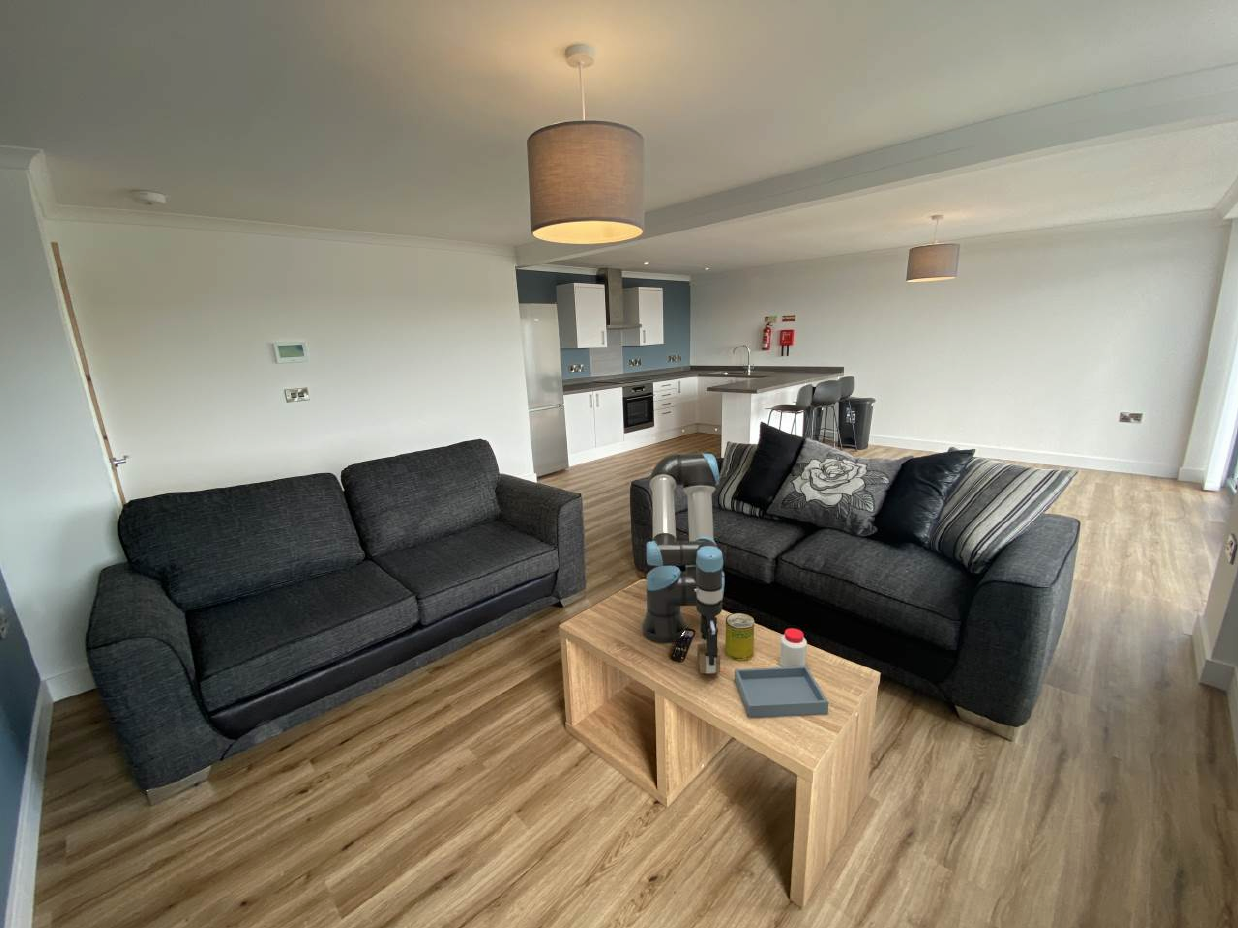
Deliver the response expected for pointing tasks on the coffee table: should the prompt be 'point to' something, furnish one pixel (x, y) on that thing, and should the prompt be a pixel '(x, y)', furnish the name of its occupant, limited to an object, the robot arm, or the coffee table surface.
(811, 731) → the coffee table surface
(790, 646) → the pill bottle
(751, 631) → the beverage can
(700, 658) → the walnut cube
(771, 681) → the blue-grey tray
